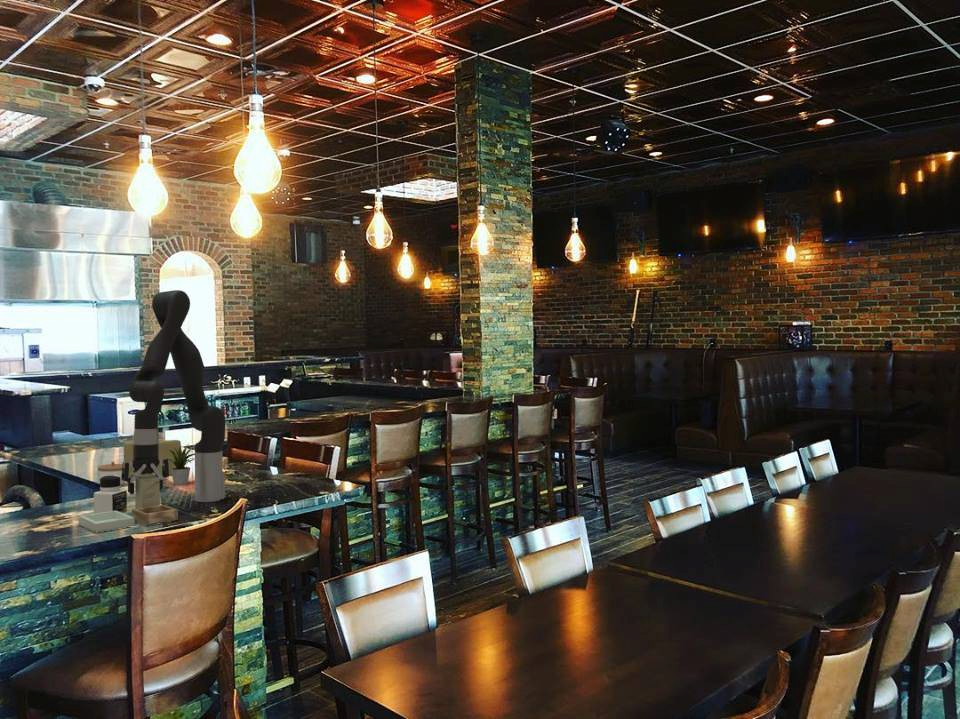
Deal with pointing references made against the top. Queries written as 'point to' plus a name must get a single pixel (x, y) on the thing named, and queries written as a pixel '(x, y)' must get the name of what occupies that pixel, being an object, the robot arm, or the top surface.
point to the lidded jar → (110, 471)
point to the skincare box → (147, 492)
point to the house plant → (180, 465)
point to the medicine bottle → (110, 495)
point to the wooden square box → (155, 514)
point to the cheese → (162, 454)
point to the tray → (106, 521)
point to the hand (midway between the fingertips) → (145, 492)
